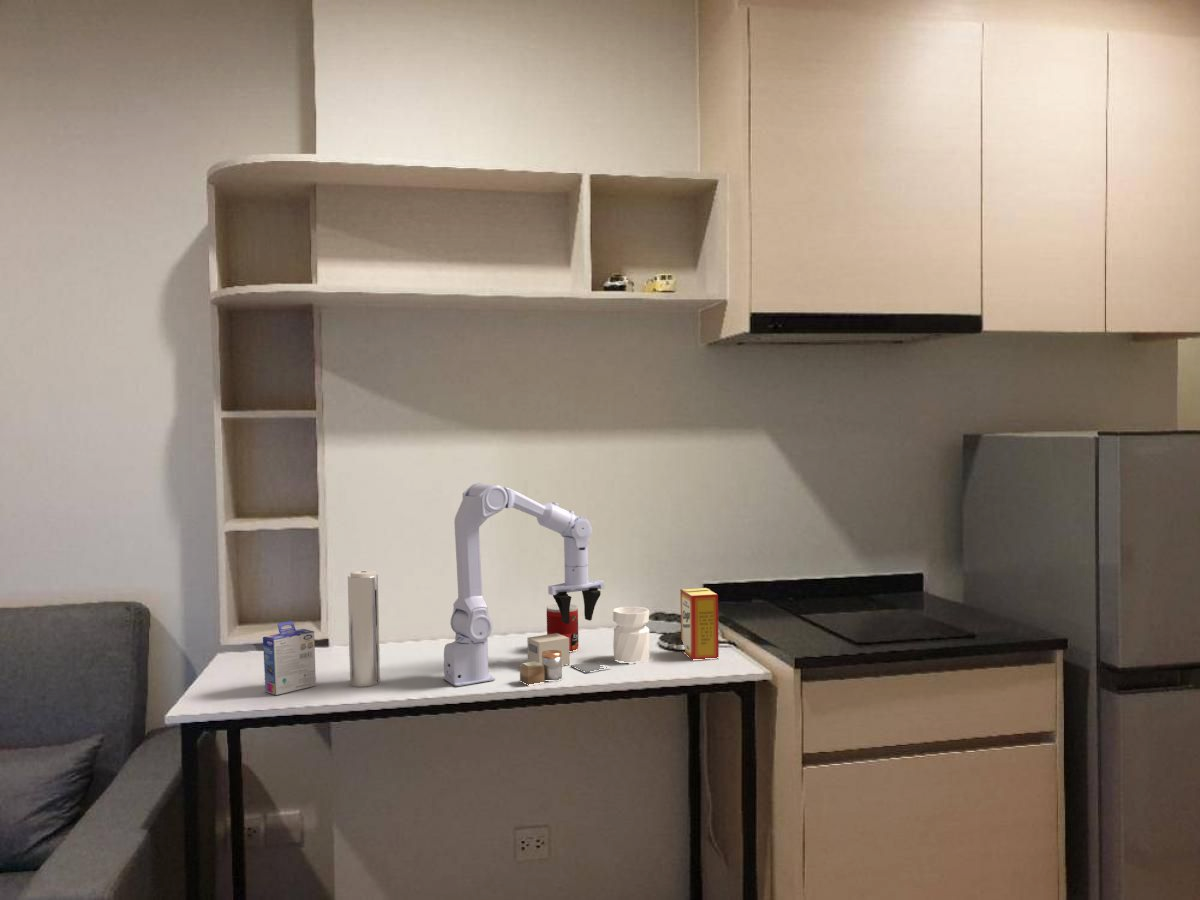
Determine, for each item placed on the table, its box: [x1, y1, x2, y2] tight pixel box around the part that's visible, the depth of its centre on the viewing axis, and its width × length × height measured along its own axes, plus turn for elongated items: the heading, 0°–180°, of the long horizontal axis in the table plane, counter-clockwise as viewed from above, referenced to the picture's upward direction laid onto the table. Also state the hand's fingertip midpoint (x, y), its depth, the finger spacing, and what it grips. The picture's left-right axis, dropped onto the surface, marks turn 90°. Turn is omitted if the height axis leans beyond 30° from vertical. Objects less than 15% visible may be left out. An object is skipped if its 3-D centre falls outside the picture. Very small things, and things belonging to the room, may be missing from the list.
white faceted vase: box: [612, 606, 651, 662], centre depth 215 cm, size 9×9×12 cm
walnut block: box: [519, 661, 546, 685], centre depth 197 cm, size 4×4×4 cm
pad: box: [570, 660, 607, 672], centre depth 208 cm, size 7×7×1 cm
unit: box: [526, 633, 570, 665], centre depth 211 cm, size 8×6×6 cm
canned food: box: [546, 603, 579, 651], centre depth 226 cm, size 8×8×11 cm
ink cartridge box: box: [262, 620, 317, 696], centre depth 195 cm, size 10×6×14 cm, turn 138°
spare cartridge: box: [542, 650, 563, 680], centre depth 199 cm, size 4×4×6 cm
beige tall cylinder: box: [347, 569, 381, 688], centre depth 198 cm, size 6×6×25 cm
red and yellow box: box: [679, 587, 720, 661], centre depth 218 cm, size 10×6×16 cm
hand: (577, 621), depth 215 cm, fingers open, 6 cm apart
